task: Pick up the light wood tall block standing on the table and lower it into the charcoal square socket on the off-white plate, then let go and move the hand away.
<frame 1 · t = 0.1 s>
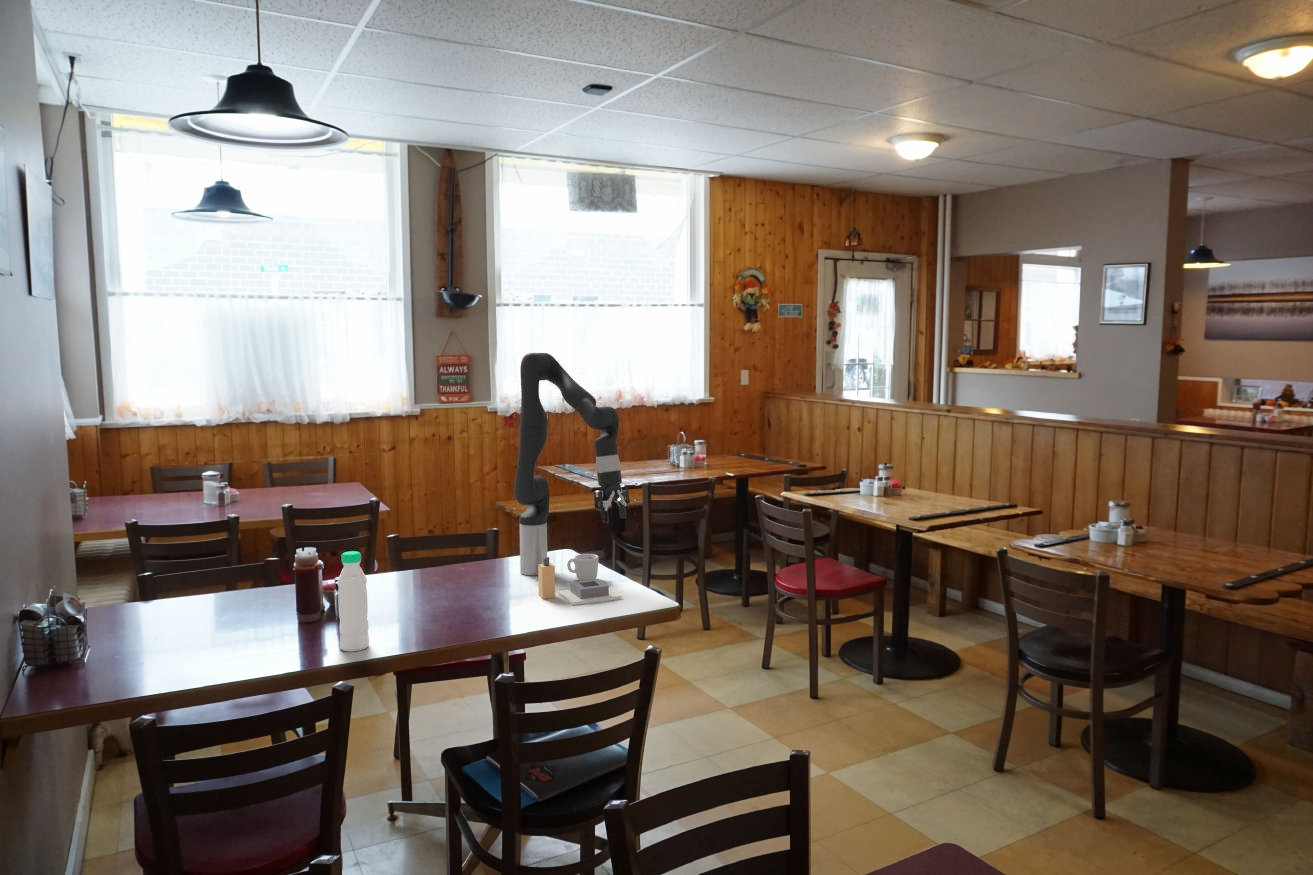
hand: (614, 520, 275), 22 cm above the table, tool pointing down, fingers open, 8 cm apart
socket: (589, 596, 269), on the table
cup: (582, 580, 289), on the table
water bottle: (354, 648, 224), on the table
light wood tall block: (546, 596, 269), on the table
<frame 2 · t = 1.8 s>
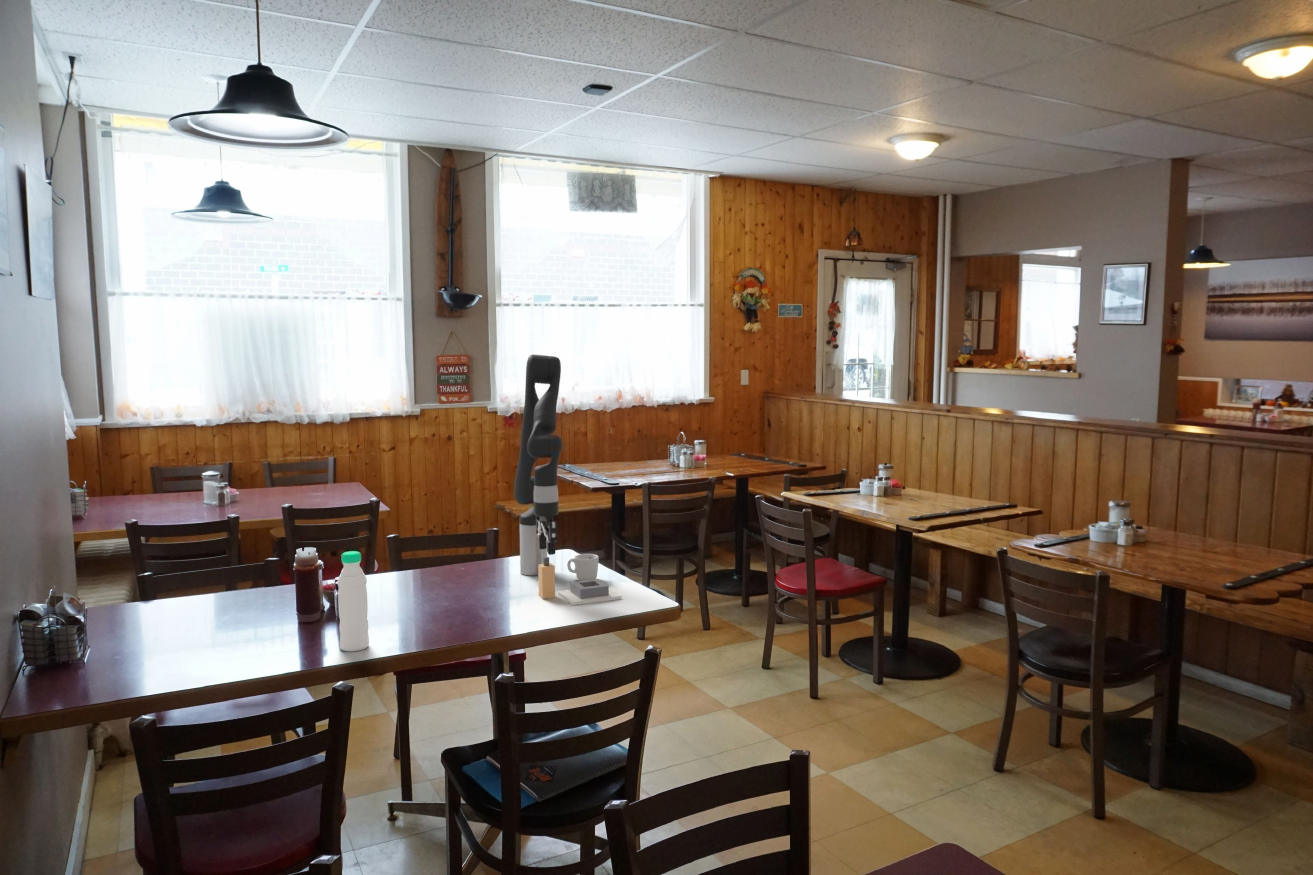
hand: (547, 551, 268), 14 cm above the table, tool pointing down, fingers open, 8 cm apart
nothing on the table moved.
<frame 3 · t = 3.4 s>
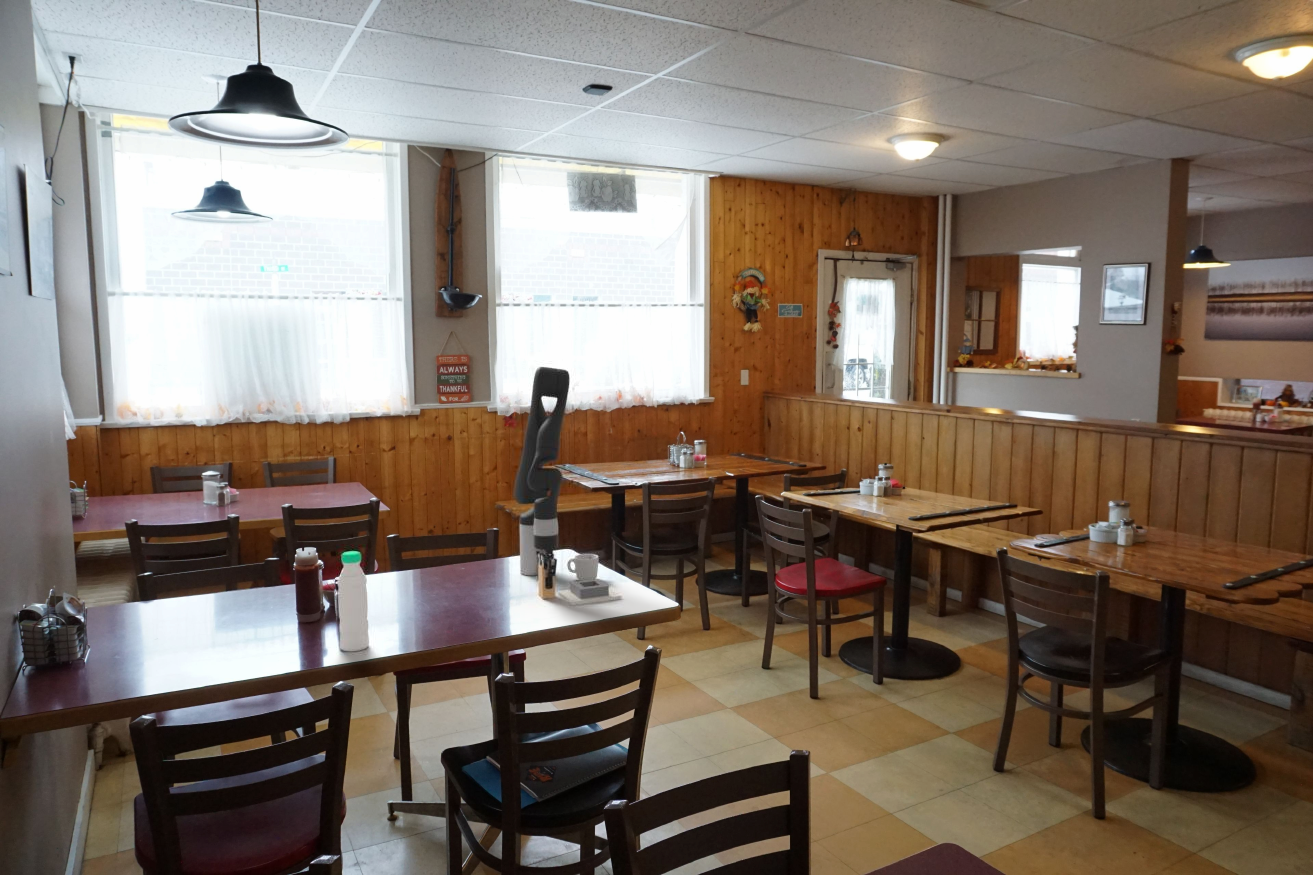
hand: (546, 586, 269), 3 cm above the table, tool pointing down, fingers closed on light wood tall block, 4 cm apart
light wood tall block: (546, 596, 269), on the table, touching gripper
everything else where it was.
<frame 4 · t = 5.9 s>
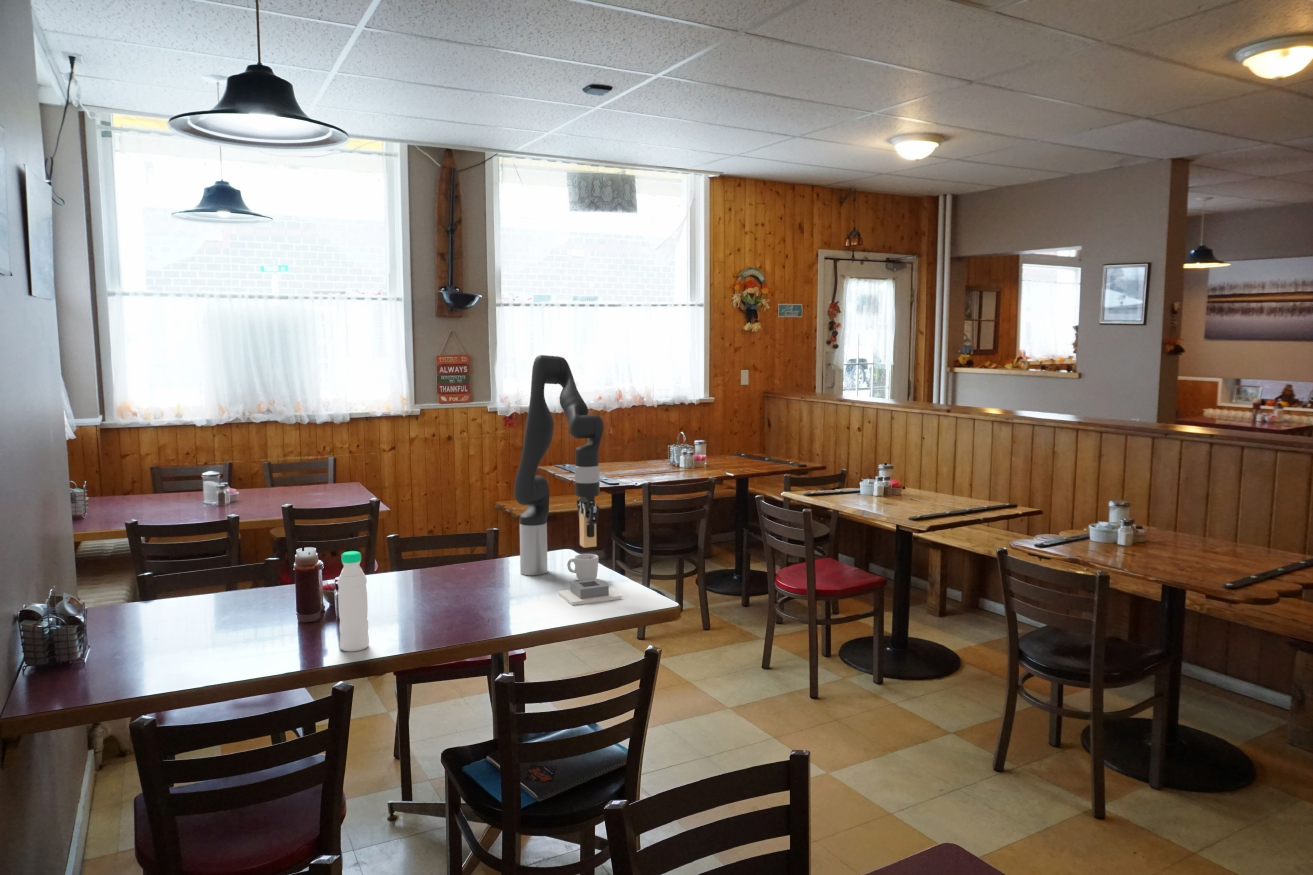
hand: (588, 535, 267), 19 cm above the table, tool pointing down, fingers closed on light wood tall block, 4 cm apart
light wood tall block: (588, 545, 267), point 16 cm above the table, touching gripper
everything else where it was.
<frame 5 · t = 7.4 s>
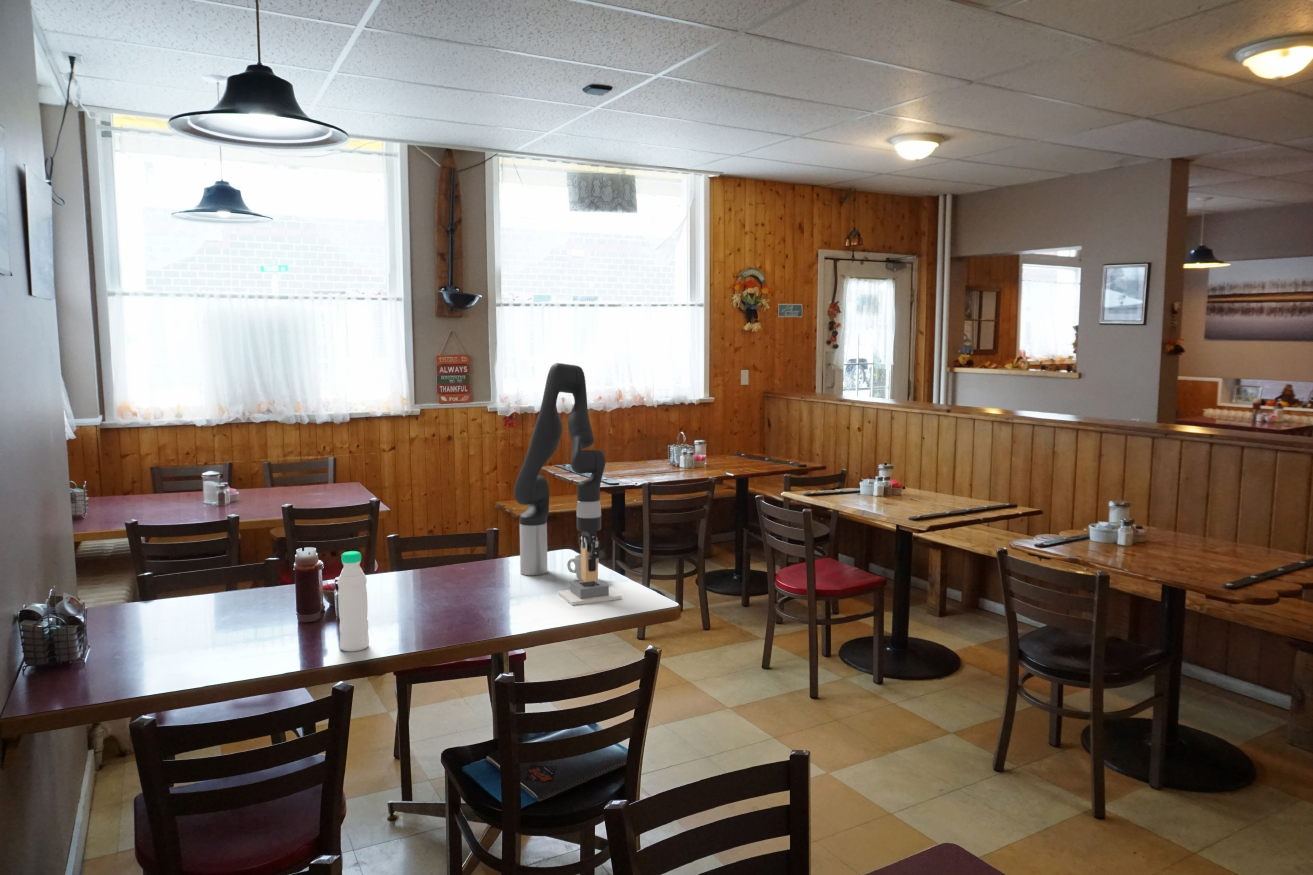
hand: (589, 569, 268), 9 cm above the table, tool pointing down, fingers closed on light wood tall block, 4 cm apart
light wood tall block: (589, 579, 269), point 5 cm above the table, touching gripper
everything else where it was.
when the fingers open (5 cm above the table, at t = 8.4 s): light wood tall block stays where it is, resting on socket.
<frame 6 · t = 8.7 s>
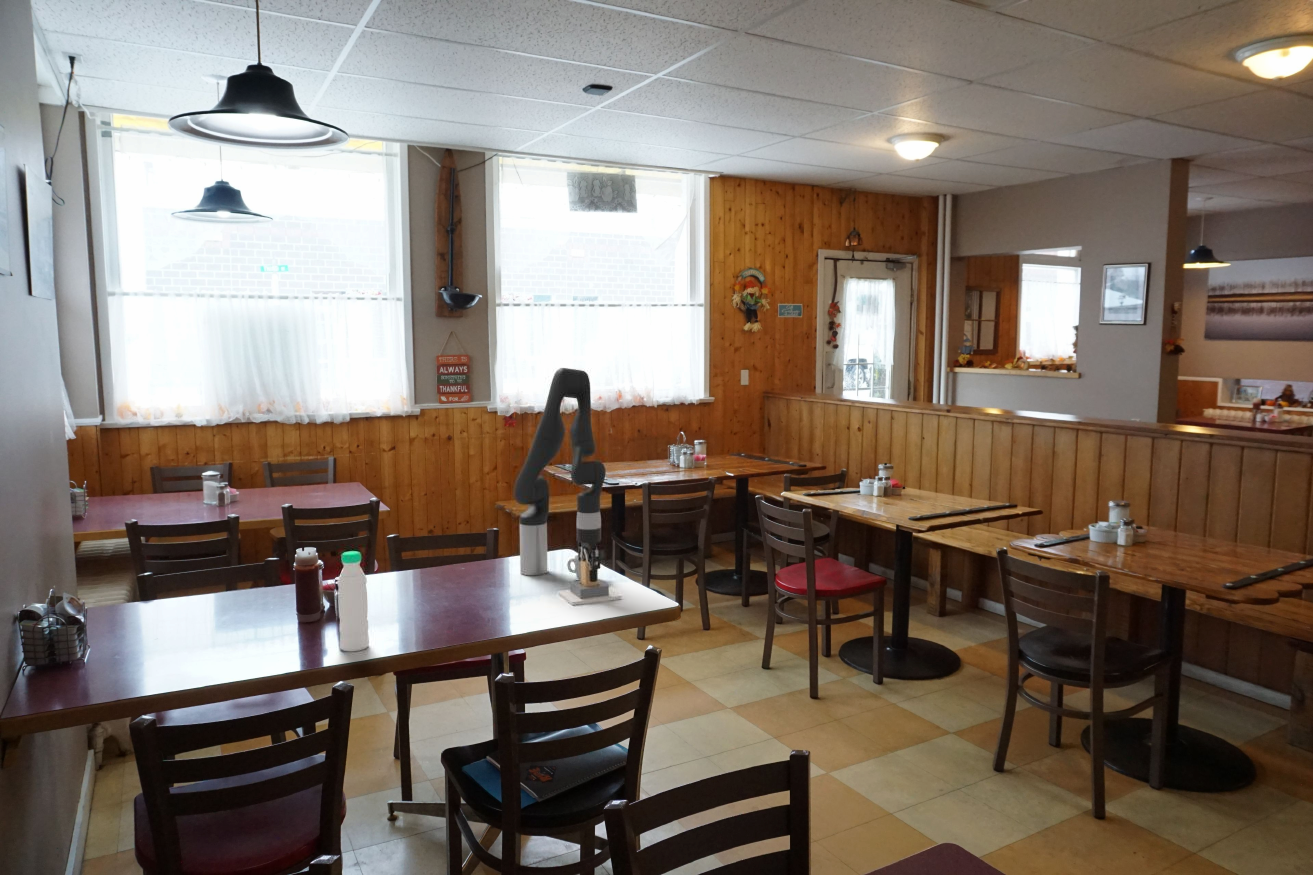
hand: (589, 578, 269), 6 cm above the table, tool pointing down, fingers open, 6 cm apart
light wood tall block: (589, 593, 269), point 1 cm above the table, touching socket
everything else where it was.
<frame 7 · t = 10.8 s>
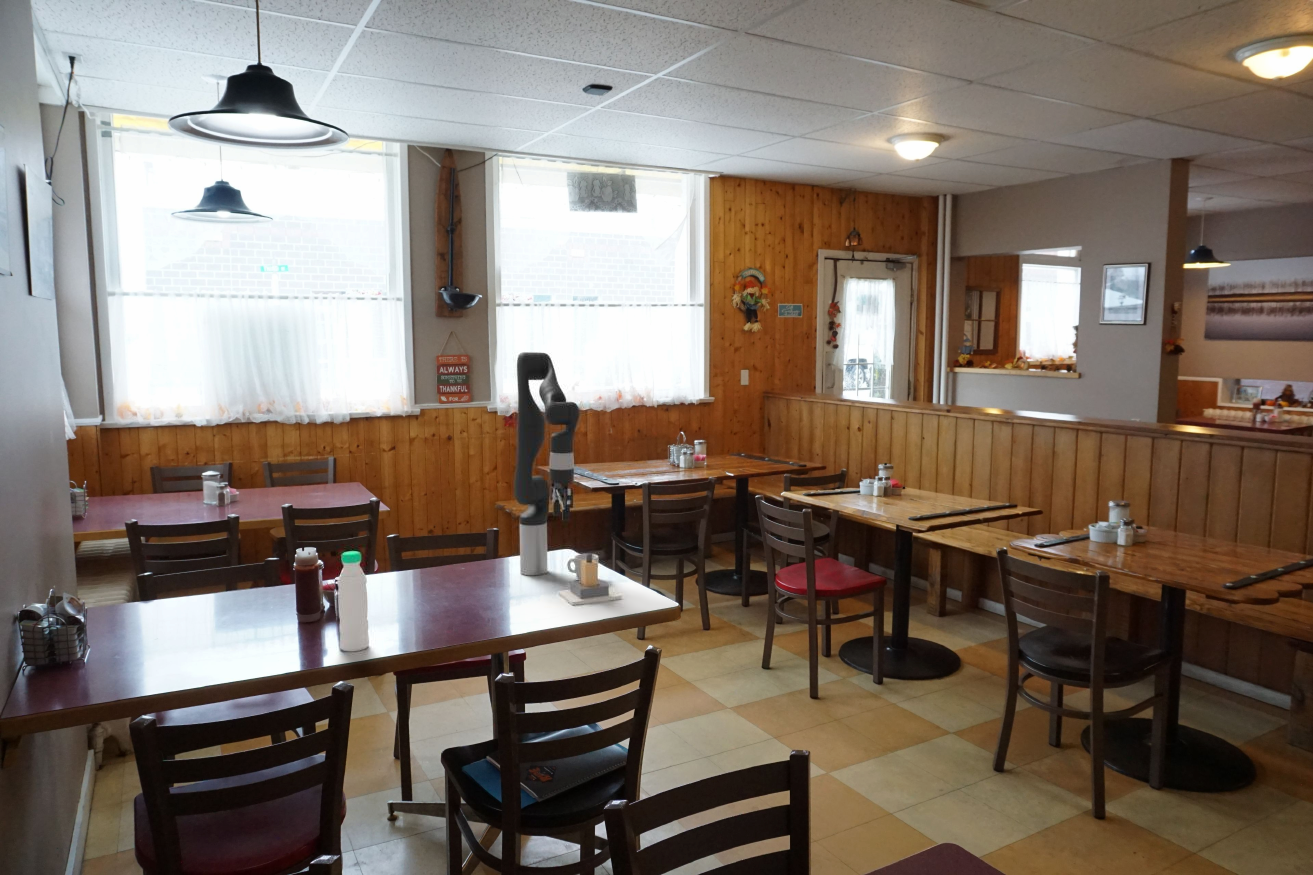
hand: (561, 518, 269), 24 cm above the table, tool pointing down, fingers open, 8 cm apart
nothing on the table moved.
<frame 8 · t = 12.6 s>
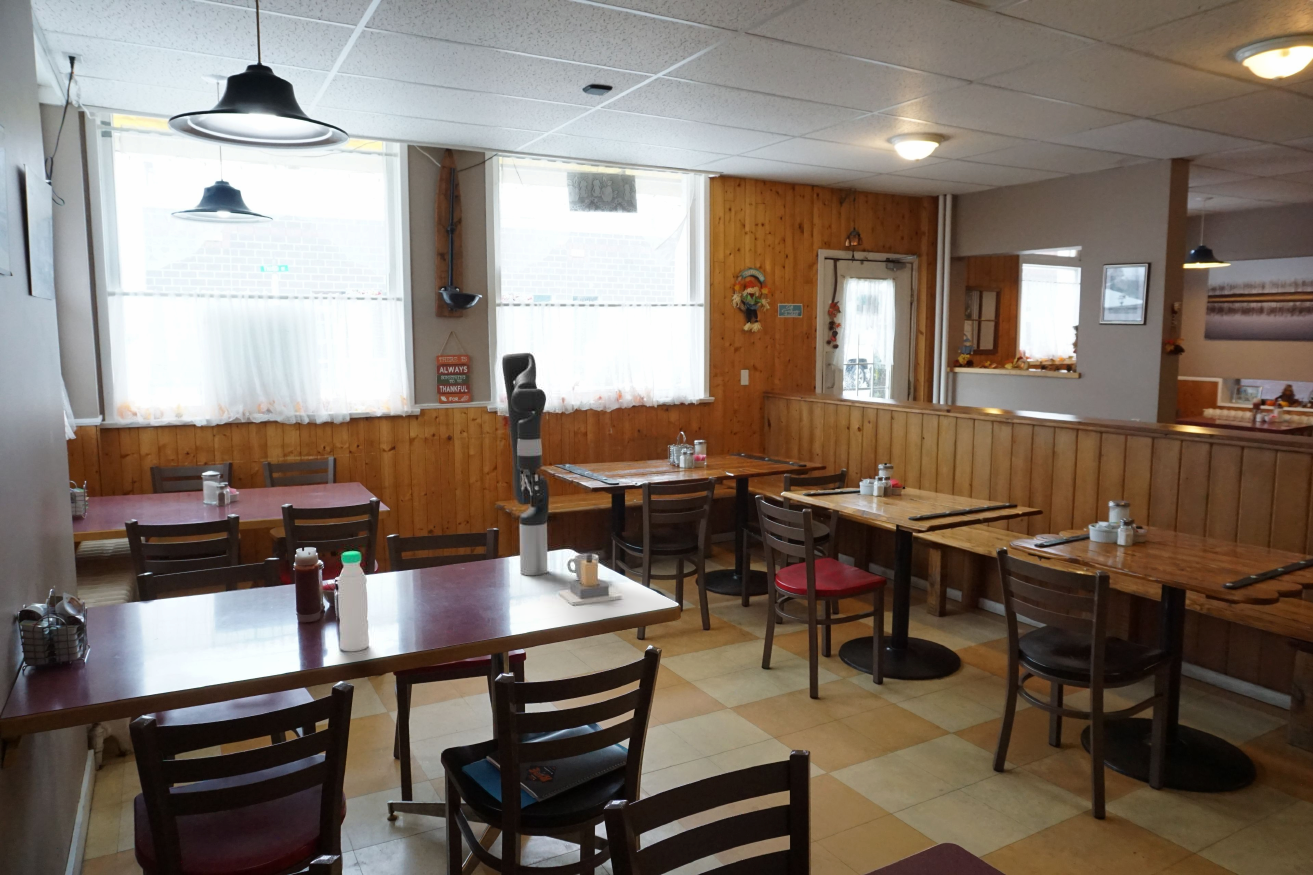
hand: (530, 504, 271), 28 cm above the table, tool pointing down, fingers open, 8 cm apart
nothing on the table moved.
at the end: light wood tall block 0.0 cm off-centre on the socket, point 1.0 cm above the socket's base; light wood tall block tilted 0°; the gripper is holding nothing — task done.
